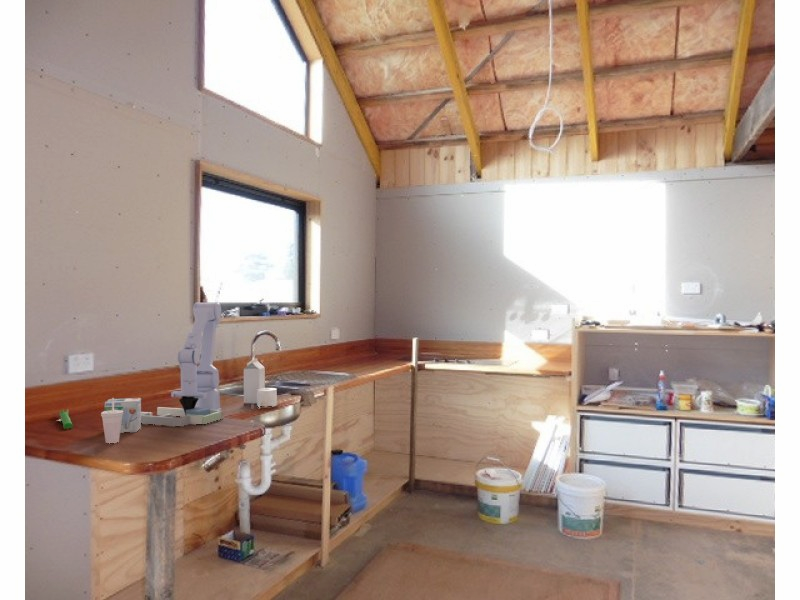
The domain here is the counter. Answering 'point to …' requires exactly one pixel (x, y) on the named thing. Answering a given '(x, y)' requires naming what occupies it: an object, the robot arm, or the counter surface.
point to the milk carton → (253, 380)
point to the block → (198, 411)
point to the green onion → (65, 419)
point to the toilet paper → (266, 397)
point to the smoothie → (112, 424)
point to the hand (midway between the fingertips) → (189, 417)
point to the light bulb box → (127, 413)
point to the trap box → (173, 421)
